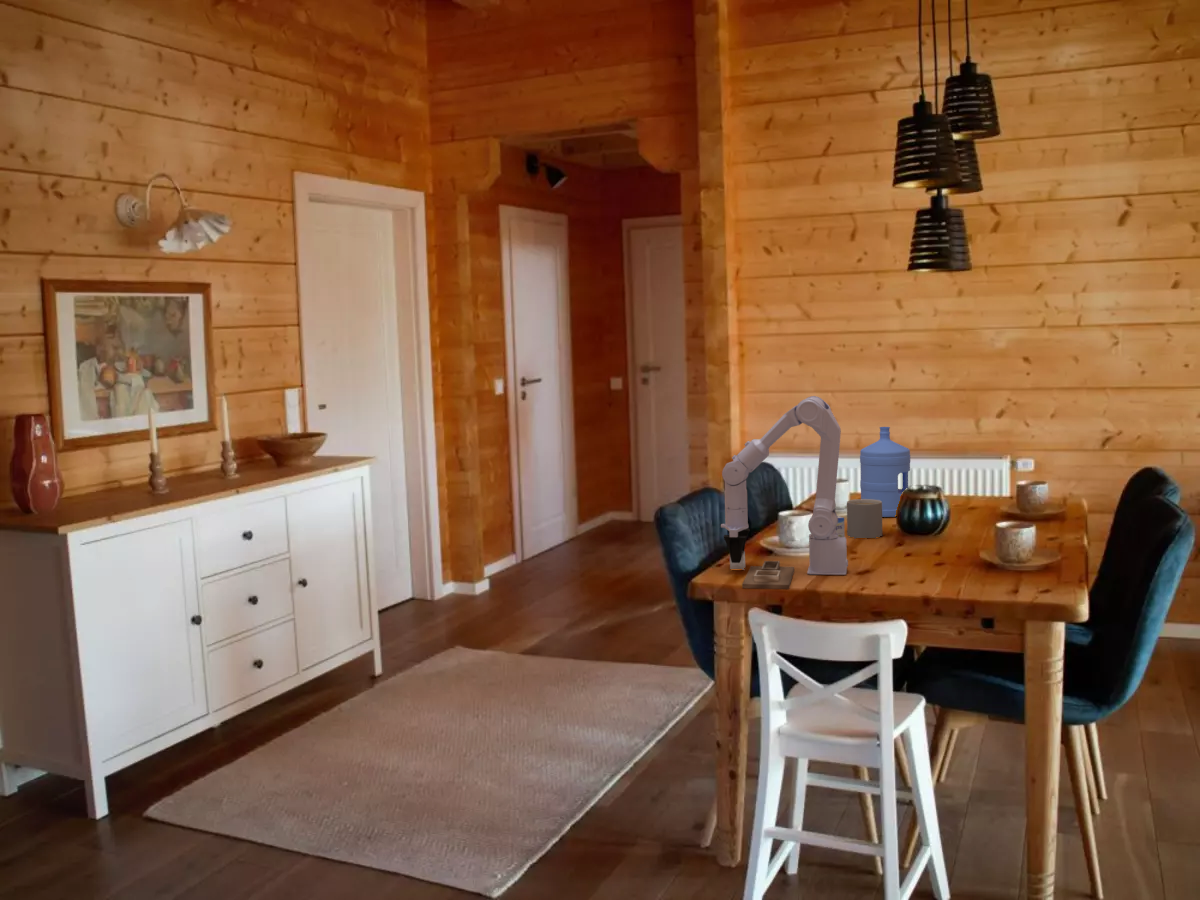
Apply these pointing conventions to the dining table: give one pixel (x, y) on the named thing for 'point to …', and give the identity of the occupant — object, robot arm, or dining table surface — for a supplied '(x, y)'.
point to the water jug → (884, 472)
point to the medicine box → (840, 527)
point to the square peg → (738, 565)
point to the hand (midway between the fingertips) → (737, 559)
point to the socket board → (769, 576)
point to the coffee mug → (864, 518)
